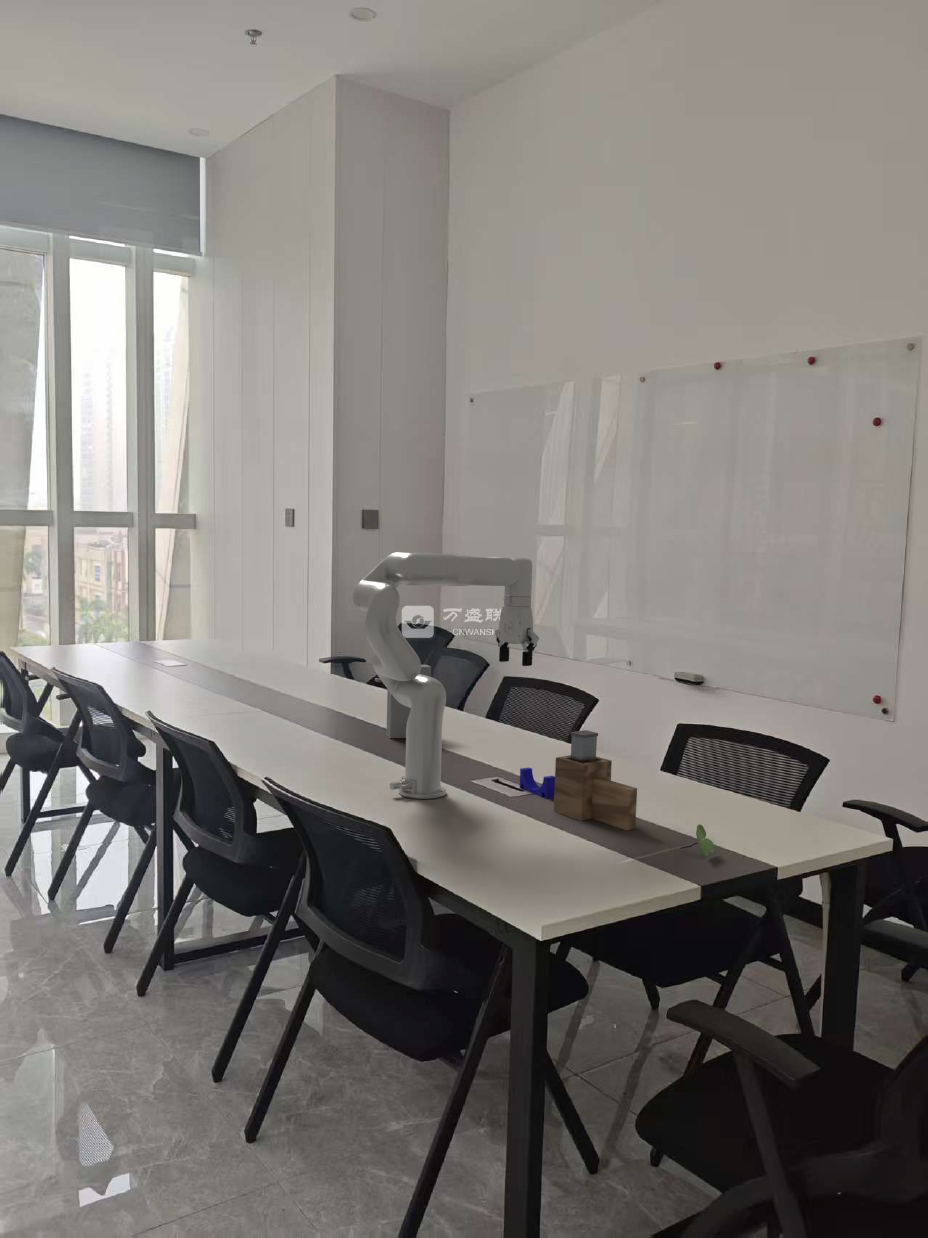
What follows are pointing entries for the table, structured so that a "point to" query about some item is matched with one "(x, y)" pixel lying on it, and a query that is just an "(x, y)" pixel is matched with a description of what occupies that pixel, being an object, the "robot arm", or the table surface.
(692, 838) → the table surface
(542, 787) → the blue cradle block
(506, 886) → the table surface
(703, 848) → the seedling
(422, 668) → the tall grey block
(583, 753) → the upright grey metal pillar
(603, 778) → the brown stepped hollow block
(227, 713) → the table surface
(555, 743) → the table surface
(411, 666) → the robot arm
